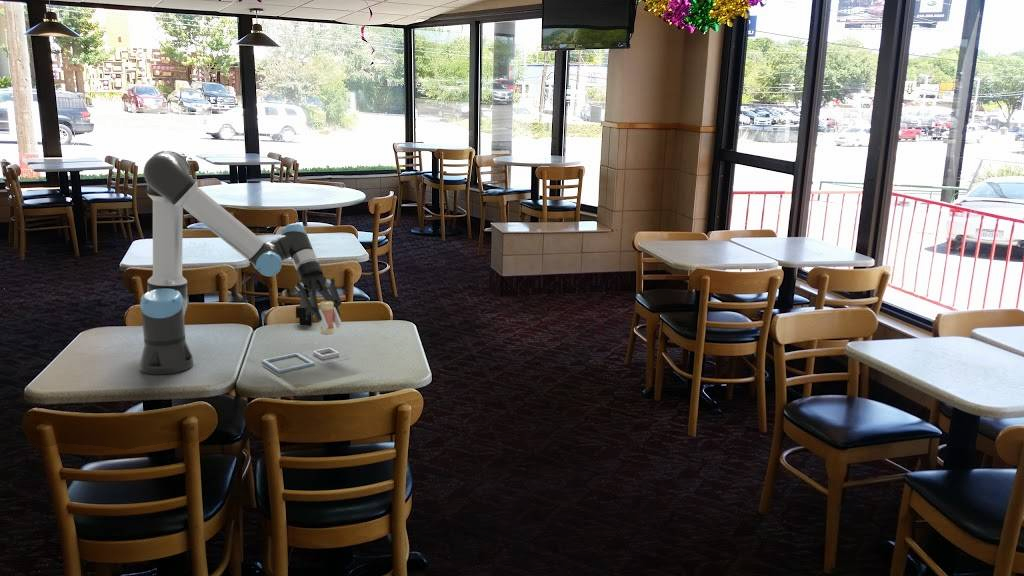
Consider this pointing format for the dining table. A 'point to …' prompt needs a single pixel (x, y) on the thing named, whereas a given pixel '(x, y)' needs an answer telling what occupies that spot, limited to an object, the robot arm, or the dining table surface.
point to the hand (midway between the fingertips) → (332, 327)
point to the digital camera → (303, 315)
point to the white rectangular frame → (326, 355)
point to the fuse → (327, 316)
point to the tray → (309, 363)
